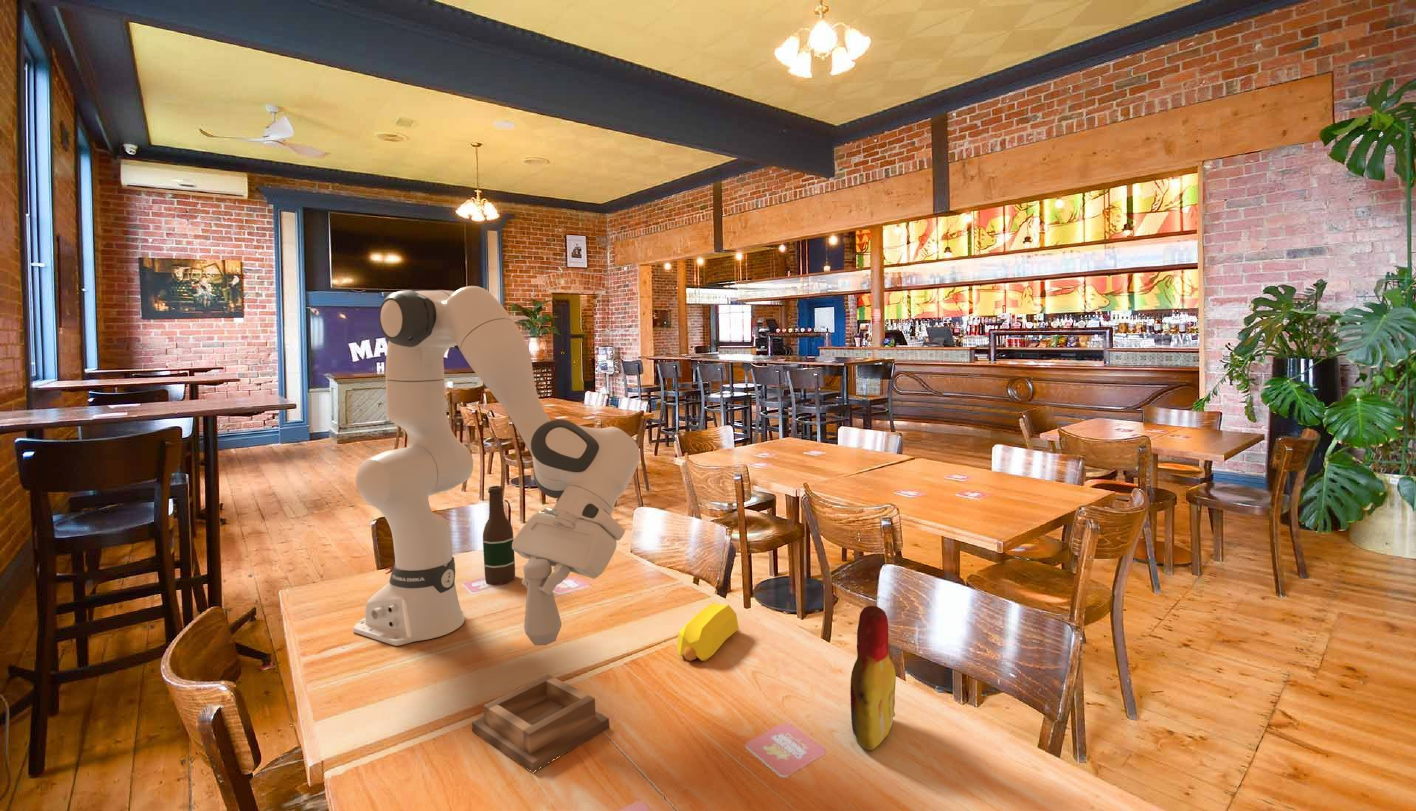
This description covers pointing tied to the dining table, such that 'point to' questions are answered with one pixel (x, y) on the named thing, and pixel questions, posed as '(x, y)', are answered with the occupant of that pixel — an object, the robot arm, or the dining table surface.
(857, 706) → the bottle
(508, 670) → the dining table surface
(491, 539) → the beer bottle
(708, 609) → the yellow faceted rounded part
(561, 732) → the board
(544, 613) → the salt shaker
